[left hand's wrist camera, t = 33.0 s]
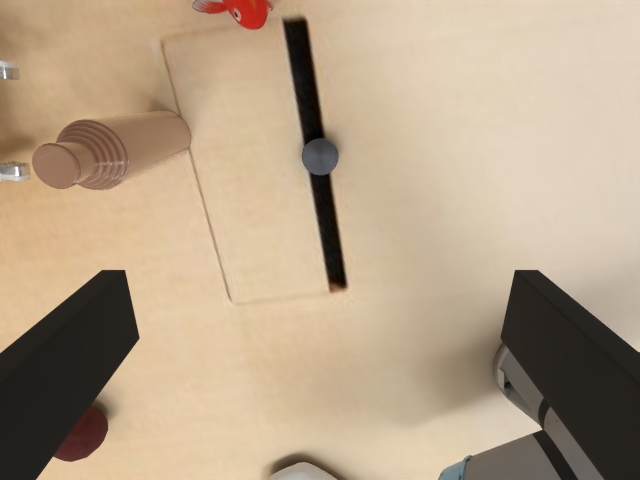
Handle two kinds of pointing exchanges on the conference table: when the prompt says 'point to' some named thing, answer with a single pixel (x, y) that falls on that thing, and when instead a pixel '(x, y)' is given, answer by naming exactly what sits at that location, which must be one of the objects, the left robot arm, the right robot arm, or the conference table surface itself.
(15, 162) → the right robot arm
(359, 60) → the conference table surface
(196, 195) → the conference table surface
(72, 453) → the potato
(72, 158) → the bottle
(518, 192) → the conference table surface
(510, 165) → the conference table surface
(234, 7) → the fish
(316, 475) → the projector
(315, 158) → the cap
